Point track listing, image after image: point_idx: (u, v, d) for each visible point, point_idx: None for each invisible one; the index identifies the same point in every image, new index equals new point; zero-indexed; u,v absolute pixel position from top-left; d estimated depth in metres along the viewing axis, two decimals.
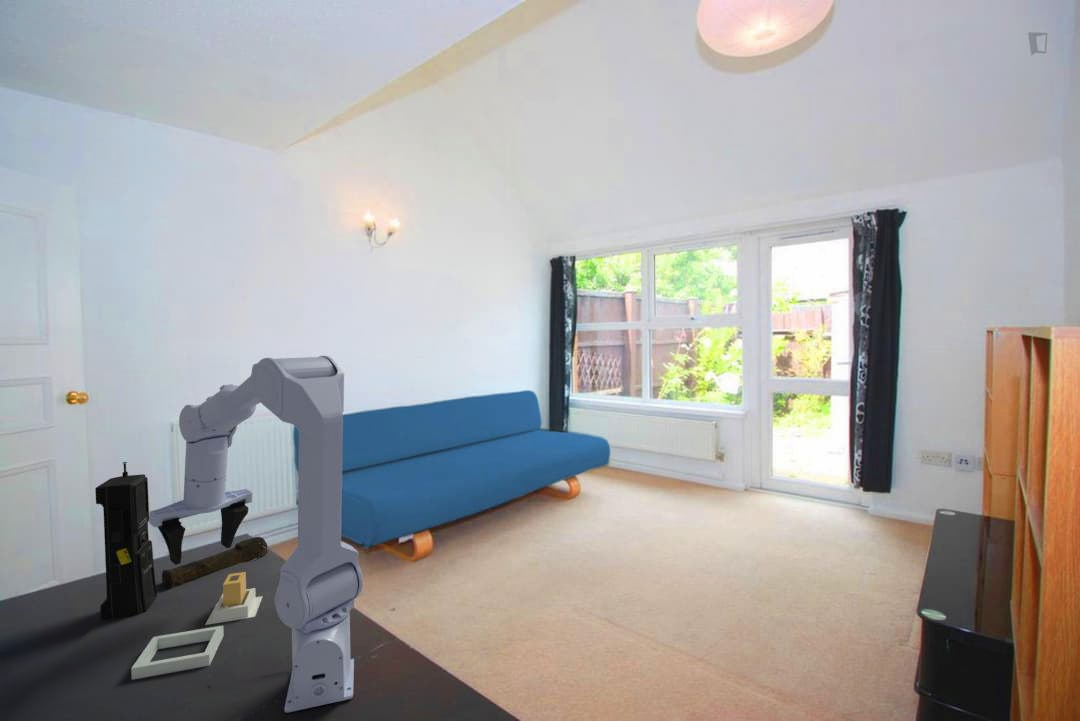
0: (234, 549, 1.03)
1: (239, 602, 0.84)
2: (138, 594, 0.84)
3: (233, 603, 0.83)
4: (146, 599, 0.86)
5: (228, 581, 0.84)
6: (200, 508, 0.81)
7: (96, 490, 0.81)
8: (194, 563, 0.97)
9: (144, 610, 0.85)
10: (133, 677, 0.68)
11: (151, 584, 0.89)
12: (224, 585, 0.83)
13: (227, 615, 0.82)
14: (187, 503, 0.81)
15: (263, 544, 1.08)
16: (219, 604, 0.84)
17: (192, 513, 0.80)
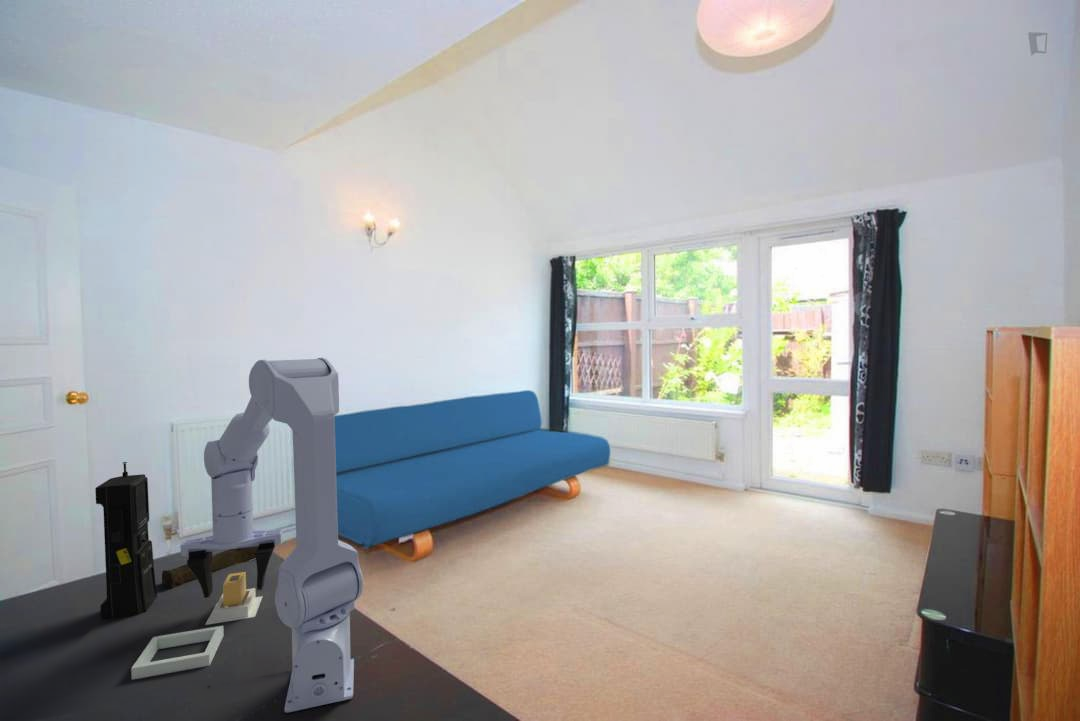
0: (233, 549, 1.03)
1: (239, 602, 0.84)
2: (138, 594, 0.84)
3: (233, 603, 0.83)
4: (146, 599, 0.86)
5: (228, 581, 0.84)
6: (218, 543, 0.82)
7: (96, 490, 0.81)
8: None
9: (144, 610, 0.85)
10: (133, 677, 0.68)
11: (151, 584, 0.89)
12: (224, 585, 0.83)
13: (227, 615, 0.82)
14: (213, 536, 0.83)
15: None
16: (219, 604, 0.84)
17: (211, 547, 0.82)
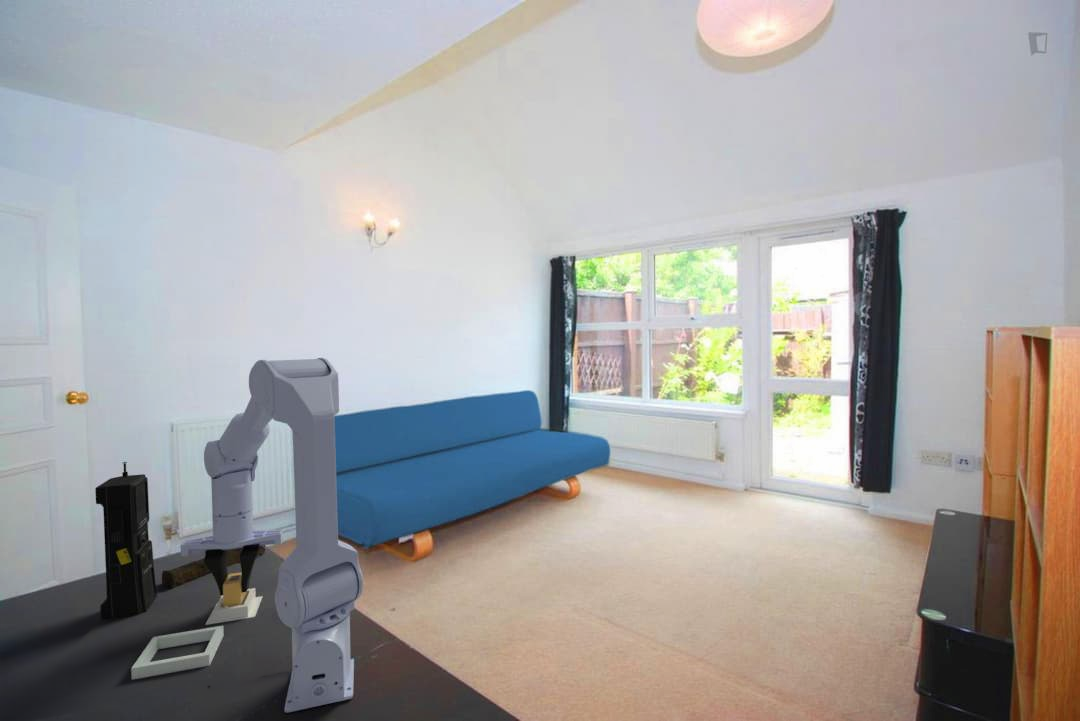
0: None
1: (239, 602, 0.84)
2: (138, 594, 0.84)
3: (233, 603, 0.83)
4: (146, 599, 0.86)
5: (228, 581, 0.84)
6: (218, 543, 0.82)
7: (96, 490, 0.81)
8: (194, 563, 0.97)
9: (144, 610, 0.85)
10: (133, 677, 0.68)
11: (151, 584, 0.89)
12: (224, 585, 0.83)
13: (227, 615, 0.82)
14: (213, 537, 0.83)
15: None
16: (219, 604, 0.84)
17: (211, 547, 0.82)
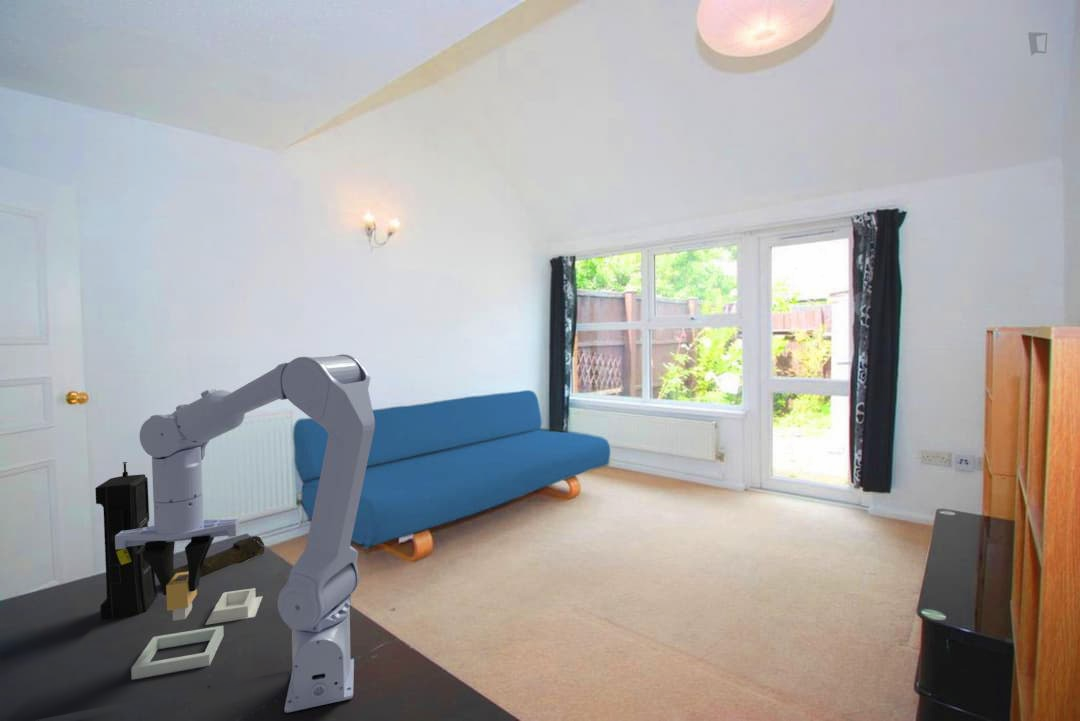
0: (232, 549, 1.04)
1: (186, 606, 0.72)
2: (138, 594, 0.84)
3: (178, 607, 0.72)
4: (146, 599, 0.86)
5: (173, 581, 0.72)
6: (159, 534, 0.70)
7: (96, 490, 0.81)
8: None
9: (144, 610, 0.85)
10: (133, 677, 0.68)
11: (151, 584, 0.89)
12: (168, 586, 0.71)
13: (227, 615, 0.82)
14: (154, 526, 0.71)
15: (260, 543, 1.09)
16: (219, 604, 0.84)
17: (151, 539, 0.70)
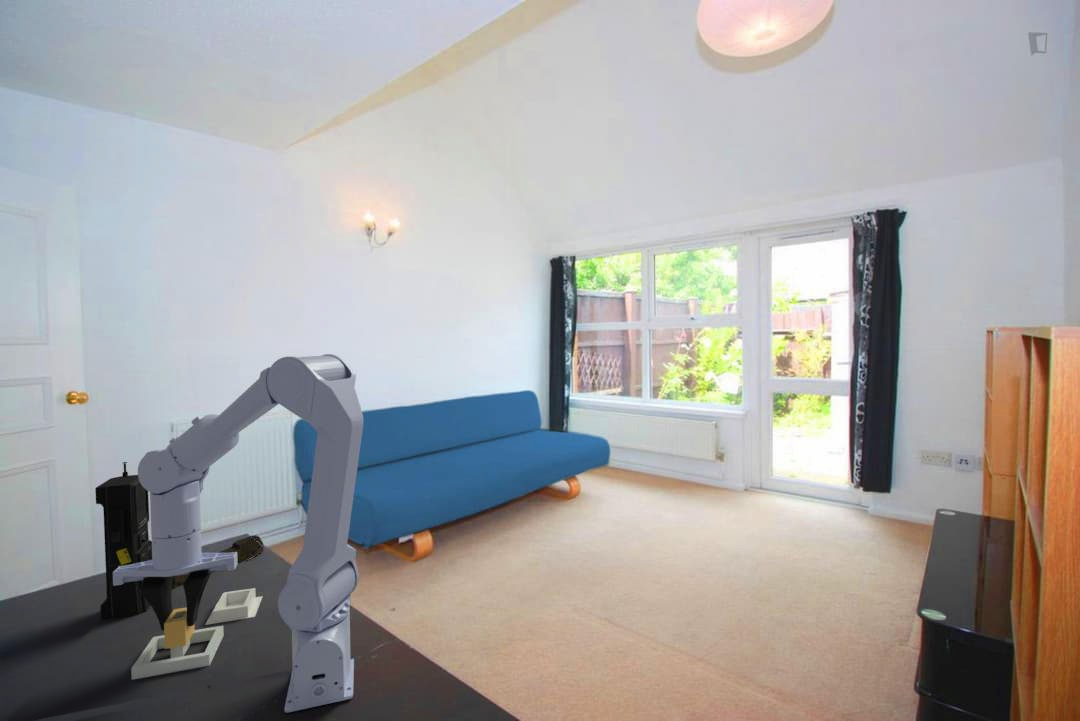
0: (232, 548, 1.04)
1: (184, 643, 0.71)
2: (138, 594, 0.84)
3: (176, 645, 0.71)
4: None
5: (171, 619, 0.72)
6: (157, 570, 0.70)
7: (96, 490, 0.81)
8: None
9: (144, 610, 0.85)
10: (133, 677, 0.68)
11: None
12: (165, 624, 0.71)
13: (227, 615, 0.82)
14: (152, 562, 0.71)
15: (259, 542, 1.09)
16: (219, 604, 0.84)
17: (149, 575, 0.69)
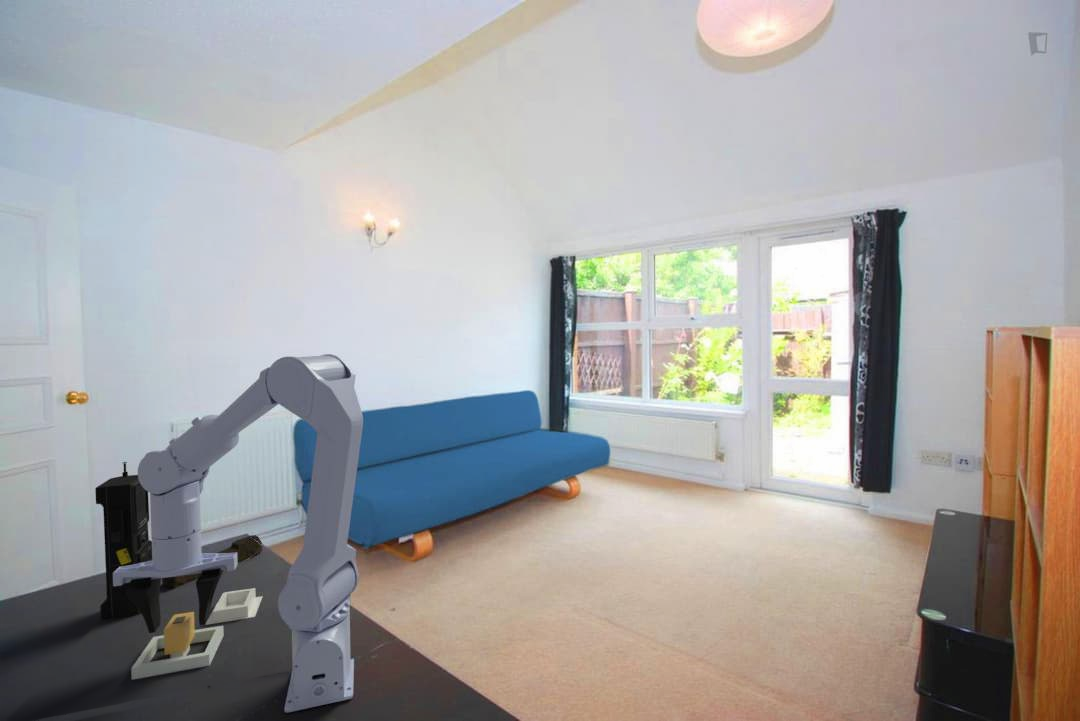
0: (231, 548, 1.04)
1: (183, 649, 0.71)
2: None
3: (176, 651, 0.71)
4: None
5: (171, 624, 0.72)
6: (157, 570, 0.70)
7: (96, 490, 0.81)
8: None
9: None
10: (133, 677, 0.68)
11: None
12: (165, 630, 0.71)
13: (227, 615, 0.82)
14: (152, 562, 0.71)
15: None
16: (219, 604, 0.84)
17: (149, 575, 0.69)
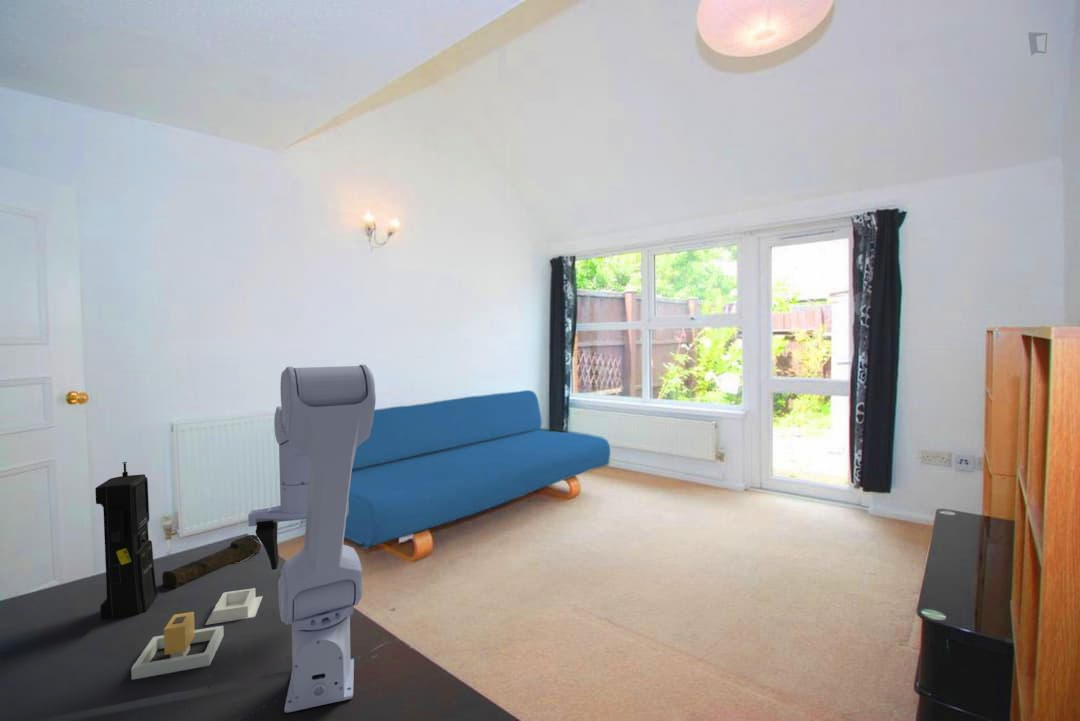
0: (230, 548, 1.04)
1: (183, 649, 0.71)
2: (138, 594, 0.84)
3: (176, 651, 0.71)
4: (146, 599, 0.86)
5: (171, 624, 0.72)
6: (287, 513, 0.79)
7: (96, 490, 0.81)
8: (195, 563, 0.97)
9: (144, 610, 0.85)
10: (133, 677, 0.68)
11: (151, 584, 0.89)
12: (165, 630, 0.71)
13: (227, 615, 0.82)
14: (280, 506, 0.80)
15: (257, 542, 1.09)
16: (219, 604, 0.84)
17: (280, 517, 0.79)
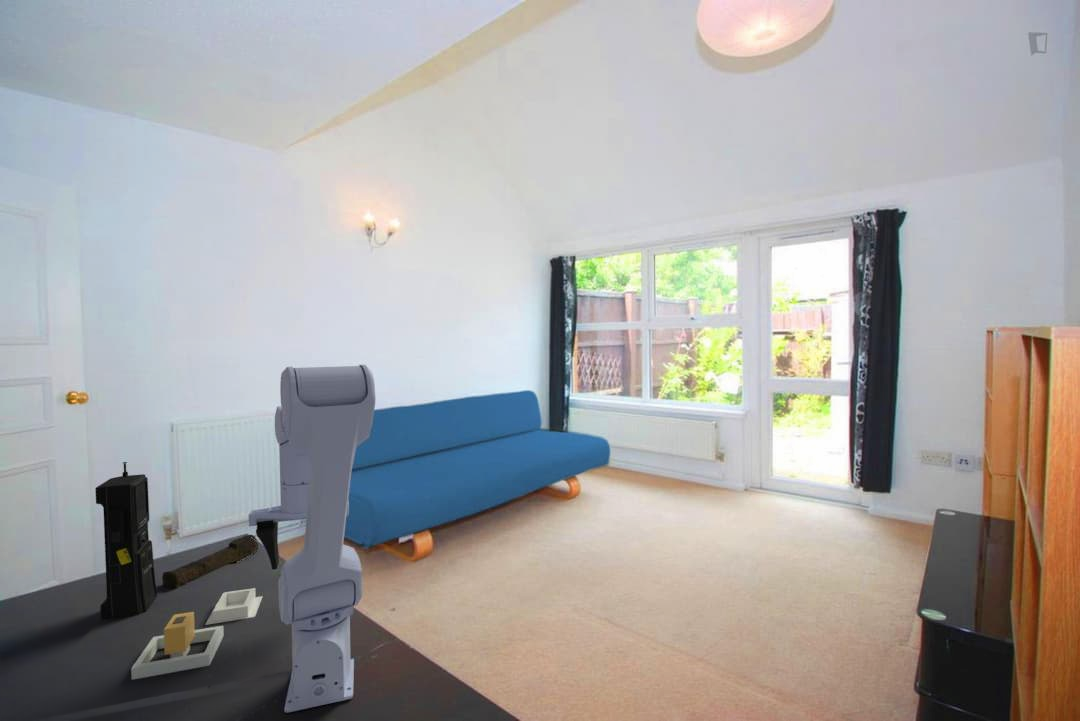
0: (229, 548, 1.04)
1: (183, 649, 0.71)
2: (138, 594, 0.84)
3: (176, 651, 0.71)
4: (146, 599, 0.86)
5: (171, 624, 0.72)
6: (287, 513, 0.79)
7: (96, 490, 0.81)
8: (194, 563, 0.97)
9: (144, 610, 0.85)
10: (133, 677, 0.68)
11: (151, 584, 0.89)
12: (165, 630, 0.71)
13: (227, 615, 0.82)
14: (280, 506, 0.80)
15: (255, 542, 1.09)
16: (219, 604, 0.84)
17: (280, 517, 0.79)
